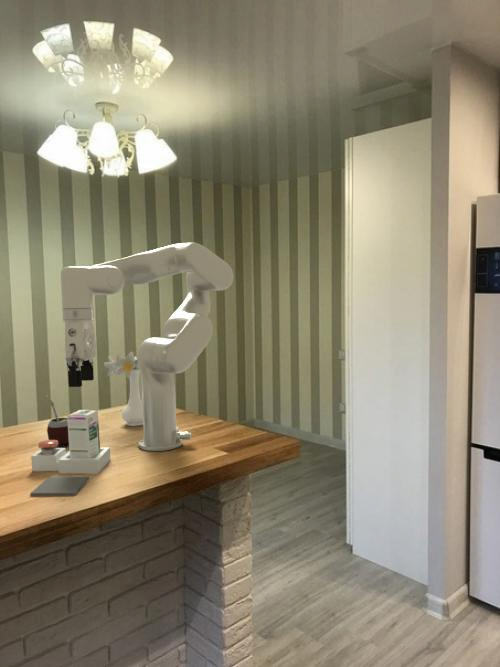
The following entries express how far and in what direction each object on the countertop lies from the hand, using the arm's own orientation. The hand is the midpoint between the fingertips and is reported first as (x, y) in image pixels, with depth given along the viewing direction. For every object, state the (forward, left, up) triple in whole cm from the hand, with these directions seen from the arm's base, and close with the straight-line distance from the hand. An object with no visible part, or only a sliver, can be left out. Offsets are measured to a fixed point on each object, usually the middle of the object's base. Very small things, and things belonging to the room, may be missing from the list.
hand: (81, 383), depth 135 cm
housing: (+4, 0, -22) cm, 22 cm away
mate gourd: (+14, -18, -22) cm, 32 cm away
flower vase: (-2, -42, -22) cm, 48 cm away
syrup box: (0, 0, -22) cm, 22 cm away
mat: (+1, +14, -22) cm, 26 cm away
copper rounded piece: (+10, 0, -21) cm, 23 cm away
